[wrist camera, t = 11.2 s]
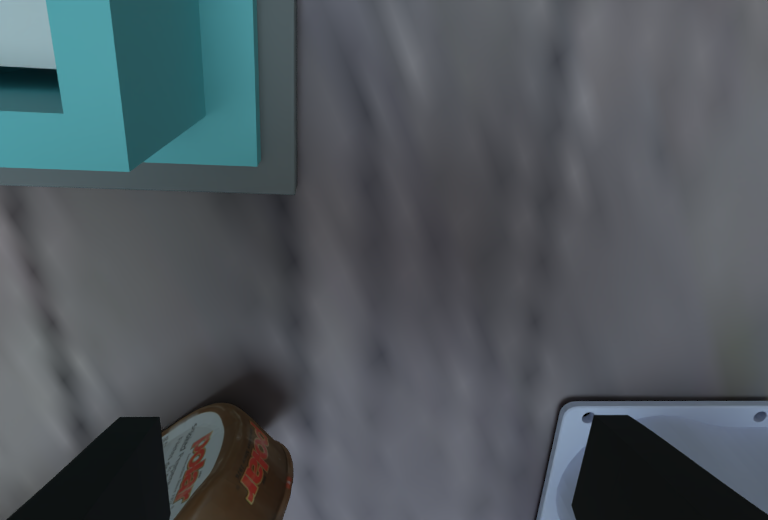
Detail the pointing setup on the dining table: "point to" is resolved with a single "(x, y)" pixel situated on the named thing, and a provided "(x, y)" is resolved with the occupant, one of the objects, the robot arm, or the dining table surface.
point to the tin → (225, 467)
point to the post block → (272, 176)
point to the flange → (137, 88)
